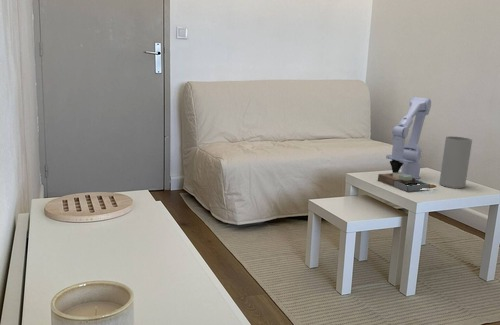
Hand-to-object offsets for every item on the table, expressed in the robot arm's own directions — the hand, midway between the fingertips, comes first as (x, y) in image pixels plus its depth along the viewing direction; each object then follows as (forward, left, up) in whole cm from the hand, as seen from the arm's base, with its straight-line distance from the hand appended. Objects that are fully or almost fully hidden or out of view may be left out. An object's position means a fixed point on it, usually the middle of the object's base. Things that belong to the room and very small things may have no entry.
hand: (395, 174), depth 249 cm
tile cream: (0, +3, 0) cm, 3 cm away
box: (0, +13, -4) cm, 13 cm away
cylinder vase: (-27, +13, -4) cm, 30 cm away
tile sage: (0, +8, 0) cm, 8 cm away
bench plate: (0, +1, -4) cm, 4 cm away
